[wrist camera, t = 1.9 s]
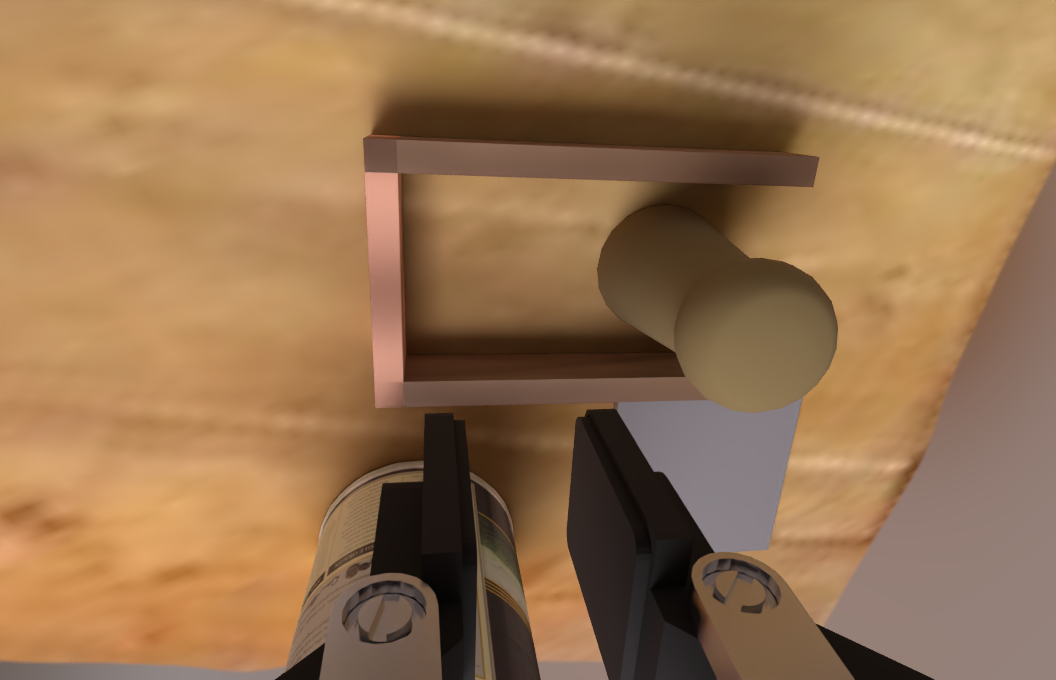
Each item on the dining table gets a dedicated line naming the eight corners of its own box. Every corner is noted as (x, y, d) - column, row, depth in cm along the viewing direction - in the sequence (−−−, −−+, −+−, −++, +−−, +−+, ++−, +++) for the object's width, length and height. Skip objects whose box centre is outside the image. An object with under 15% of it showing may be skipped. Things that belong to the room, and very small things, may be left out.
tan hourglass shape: (573, 255, 28) (652, 338, 18) (683, 177, 28) (828, 218, 18) (637, 351, 30) (740, 474, 20) (740, 281, 30) (898, 371, 20)
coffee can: (551, 512, 33) (628, 775, 20) (444, 641, 35) (451, 953, 22) (388, 422, 30) (353, 666, 17) (279, 570, 32) (174, 889, 19)
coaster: (615, 393, 31) (618, 398, 31) (797, 389, 33) (803, 394, 32) (598, 552, 35) (601, 560, 34) (762, 542, 36) (767, 549, 36)
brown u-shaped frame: (371, 134, 25) (363, 138, 22) (780, 152, 28) (819, 157, 25) (380, 379, 29) (375, 407, 26) (740, 373, 32) (769, 398, 29)
